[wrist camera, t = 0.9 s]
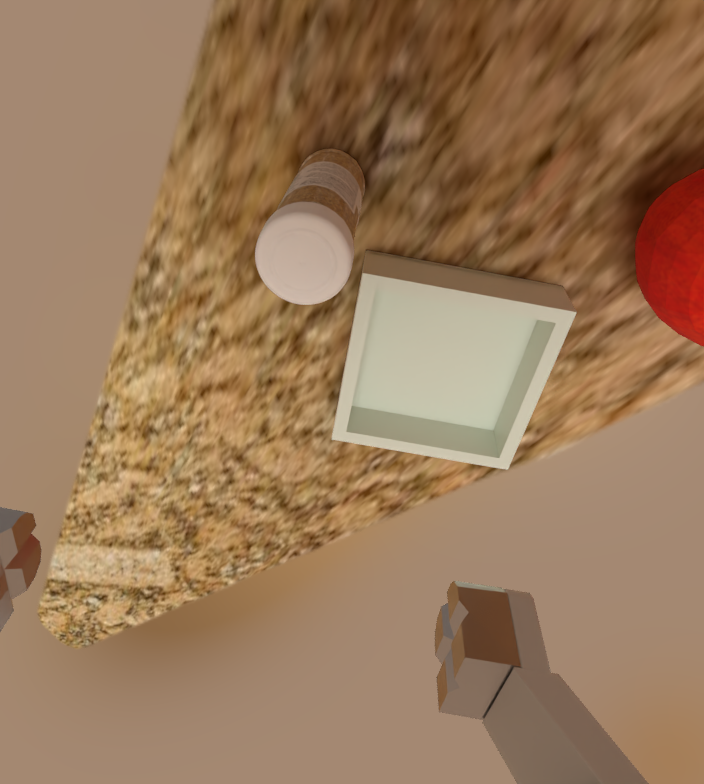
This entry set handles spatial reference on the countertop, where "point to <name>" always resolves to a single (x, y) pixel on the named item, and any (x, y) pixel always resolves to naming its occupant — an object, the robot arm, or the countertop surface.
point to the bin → (447, 359)
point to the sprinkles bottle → (313, 230)
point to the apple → (675, 256)
